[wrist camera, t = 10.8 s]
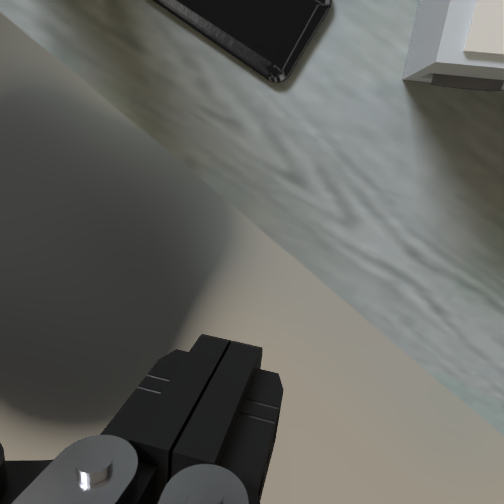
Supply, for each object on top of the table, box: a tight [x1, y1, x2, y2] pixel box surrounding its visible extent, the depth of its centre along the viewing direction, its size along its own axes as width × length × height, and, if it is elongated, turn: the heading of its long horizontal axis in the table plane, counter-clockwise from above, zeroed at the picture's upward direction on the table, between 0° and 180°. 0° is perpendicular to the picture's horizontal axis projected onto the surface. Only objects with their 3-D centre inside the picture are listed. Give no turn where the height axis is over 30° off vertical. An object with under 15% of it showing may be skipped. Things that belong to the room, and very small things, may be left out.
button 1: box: [431, 73, 504, 91], centre depth 25 cm, size 4×4×4 cm
